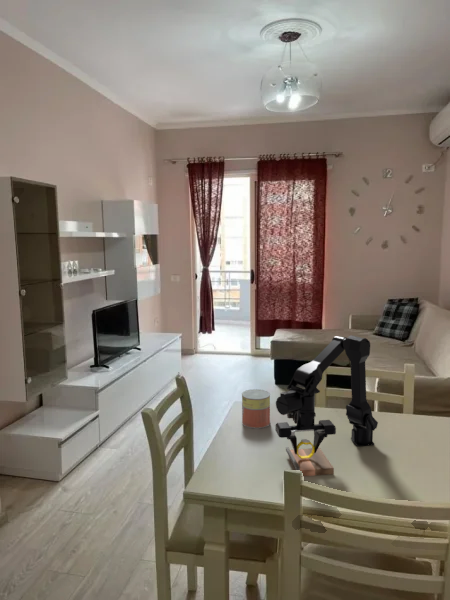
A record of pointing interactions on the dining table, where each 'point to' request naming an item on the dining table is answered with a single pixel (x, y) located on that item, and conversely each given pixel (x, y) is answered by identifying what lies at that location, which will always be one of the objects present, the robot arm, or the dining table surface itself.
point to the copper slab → (311, 462)
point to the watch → (306, 442)
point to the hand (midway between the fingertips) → (305, 453)
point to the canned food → (256, 408)
